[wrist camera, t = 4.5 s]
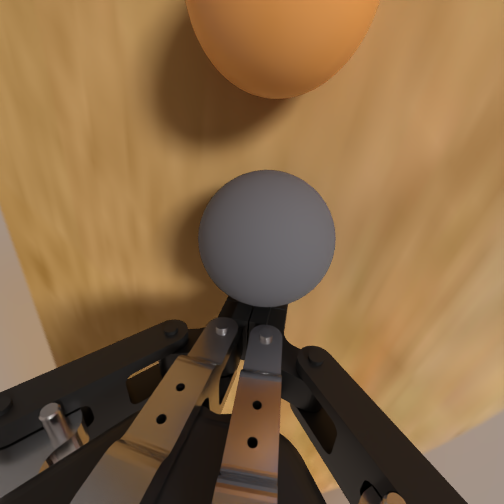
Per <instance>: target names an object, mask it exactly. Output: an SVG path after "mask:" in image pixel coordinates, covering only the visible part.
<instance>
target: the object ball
mask: <svg viewBox="0 0 504 504" xmlns="http://www.w3.org/2000/svg"><path fill="white" fill-rule="evenodd" d="M185 2H186V6H187V10H188V13H189V17H190V21H191V24H192V27H193V29H194V32H195V34H196V37H197V39H198V41H199V43H200V45H201V47H202V49H203V50H204V52H205V54H206V55H207V57H208V58H209V60H210V61H211V63H212V64H213V65H214V66H215V68H216V69H217V70H218V71H219V72H220V73H221V74H222V75H223V76H224V77H225V78H226V79H227V80H228V81H230V82H231V83H232V84H234V85H235V86H237V87H238V88H240V89H241V90H243V91H245V92H247V93H249V94H252V95H255V96H259V97H263V98H270V99H284V98H291V97H295V96H299V95H302V94H305V93H307V92H309V91H311V90H314V89H316V88H317V87H319V86H320V85H322V84H323V83H325V82H326V81H328V80H329V79H330V78H331V77H332V76H334V75H335V74H336V73H337V72H338V71H339V70H340V69H341V68H342V67H343V66H344V65H345V64H346V63H347V62H348V60H349V59H350V58H351V56H352V55H353V54H354V53H355V51H356V50H357V48H358V47H359V45H360V44H361V42H362V40H363V39H364V37H365V35H366V33H367V31H368V29H369V27H370V25H371V23H372V21H373V18H374V16H375V13H376V11H377V8H378V5H379V2H380V0H185Z"/></svg>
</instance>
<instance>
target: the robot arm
mask: <svg viewBox="0 0 504 504" xmlns="http://www.w3.org/2000/svg"><path fill="white" fill-rule="evenodd" d="M287 307H288V304H285V305H281V306H276V307H257V306H252V305H248V304H245V303H242V302H239V301H237V300H235V299H234V298H232V297H230V296H228V298H227V301H226V302H225V304H224V306H223V308H222V310H221V312H220V314H219V316H218V318H215V319H213V320H211V321H210V322H209V323H208V324H207V326H206V327H205V328H200V329H188V327H187V325H186V324H185V323H184V322H183V321H180V320H168V321H165V322H163V323H160V324H158V325H156V326H153V327H151V328H149V329H146V330H144V331H142V332H139V333H137V334H135V335H132V336H130V337H128V338H125V339H123V340H121V341H118V342H116V343H114V344H112V345H109V346H107V347H105V348H102V349H100V350H98V351H95V352H93V353H91V354H88V355H86V356H84V357H81V358H79V359H77V360H74V361H72V362H70V363H68V364H65V365H63V366H61V367H58V368H56V369H54V370H51V371H49V372H47V373H45V374H42V375H40V376H37V377H35V378H33V379H31V380H28V381H26V382H23V383H21V384H19V385H17V386H14V387H12V388H10V389H7V390H5V391H3V392H0V504H326V502H325V500H324V498H323V496H322V494H321V492H320V491H319V489H318V487H317V485H316V483H315V481H314V479H313V477H312V475H311V474H310V472H309V470H308V468H307V466H306V464H305V462H304V460H303V459H302V457H301V455H300V454H299V452H298V451H297V449H296V448H295V447H294V446H293V445H292V443H291V442H290V441H289V440H288V439H286V438H285V437H284V436H283V435H281V434H280V433H279V429H280V405H281V398H282V399H284V400H286V401H288V402H289V403H290V406H291V409H292V411H293V413H294V414H295V416H296V418H297V419H298V421H299V422H300V424H301V426H302V427H303V429H304V430H305V432H306V434H307V435H308V437H309V438H310V440H311V442H312V443H313V445H314V446H315V448H316V450H317V451H318V453H319V454H320V456H321V458H322V459H323V461H324V462H325V464H326V466H327V467H328V469H329V471H330V472H331V474H332V475H333V477H334V479H335V480H336V482H337V483H338V485H339V487H340V488H341V490H342V491H343V493H344V495H345V496H346V498H347V499H348V501H349V503H350V504H468V503H467V502H466V501H465V500H464V499H463V498H462V497H461V496H460V495H459V494H458V493H457V492H456V490H455V489H454V488H453V487H452V486H451V485H450V484H449V483H448V482H447V481H446V480H445V478H444V477H443V476H442V475H441V474H440V473H439V472H438V471H437V470H436V469H435V468H434V466H433V465H432V464H431V463H430V462H429V461H428V460H427V459H426V458H425V457H424V456H423V455H422V453H421V452H420V451H419V450H418V449H417V448H416V447H415V446H414V445H413V444H412V443H411V442H410V440H409V439H408V438H407V437H406V436H405V435H404V434H403V433H402V432H401V431H400V430H399V428H398V427H397V426H396V425H395V424H394V423H393V422H392V421H391V420H390V419H389V418H388V417H387V415H386V414H385V413H384V412H383V411H382V410H381V409H380V408H379V407H378V406H377V405H376V404H375V402H374V401H373V400H372V399H371V398H370V397H369V396H368V395H367V394H366V393H365V392H364V391H363V389H362V388H361V387H360V386H359V385H358V384H357V383H356V382H355V381H354V380H353V379H352V378H351V376H350V375H349V374H348V373H347V372H346V371H345V370H344V369H343V368H342V367H341V366H340V365H339V363H338V362H337V361H336V360H335V359H334V358H333V357H332V356H331V355H330V354H329V353H328V352H327V351H326V350H324V349H322V348H320V347H317V346H306V347H304V348H302V349H299V348H297V347H295V346H293V345H291V344H290V343H289V342H288V341H287V340H286V338H285V336H284V329H285V323H286V315H287ZM240 359H241V360H245V361H244V366H243V370H241V372H240V377H239V382H238V386H237V391H236V396H235V401H234V406H233V411H232V414H221V412H222V409H223V407H224V404H225V402H226V399H227V397H228V394H229V392H230V389H231V387H232V384H233V382H234V380H235V377H236V374H237V368H238V365H239V362H240ZM158 360H159V364H157V365H155V366H153V367H151V368H149V369H147V370H145V371H143V372H141V373H139V374H137V375H135V376H134V377H132V378H130V379H128V377H129V376H130V375H132V374H133V373H135V372H137V371H139V370H141V369H143V368H145V367H146V366H148V365H150V364H152V363H154V362H156V361H158Z"/></svg>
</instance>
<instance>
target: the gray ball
mask: <svg viewBox="0 0 504 504" xmlns="http://www.w3.org/2000/svg"><path fill="white" fill-rule="evenodd" d="M198 242H199V251H200V256H201V259H202V262H203V265H204V267H205V269H206V271H207V273H208V275H209V276H210V278H211V279H212V280H213V282H214V283H215V284H216V285H217V286H218V287H219V288H220V289H221V290H222V291H223V292H225V293H226V294H227V295H228V296H230V297H232V298H234V299H235V300H237V301H239V302H242V303H245V304H248V305H252V306H257V307H276V306H281V305H285V304H289V303H291V302H294V301H296V300H298V299H300V298H302V297H303V296H305V295H306V294H308V293H309V292H310V291H311V290H313V289H314V288H315V287H316V286H317V285H318V284H319V282H320V281H321V280H322V278H323V277H324V276H325V274H326V272H327V270H328V268H329V266H330V264H331V261H332V258H333V254H334V250H335V227H334V222H333V219H332V216H331V213H330V211H329V209H328V207H327V205H326V203H325V201H324V200H323V199H322V197H321V196H320V194H319V193H318V192H317V191H316V190H315V189H314V188H313V187H311V186H310V185H309V184H308V183H306V182H305V181H303V180H302V179H300V178H298V177H296V176H294V175H291V174H288V173H285V172H281V171H275V170H260V171H253V172H249V173H246V174H243V175H241V176H238V177H236V178H234V179H232V180H231V181H229V182H228V183H226V184H225V185H224V186H223V187H222V188H220V189H219V190H218V191H217V193H216V194H215V195H214V196H213V197H212V198H211V200H210V201H209V203H208V205H207V206H206V209H205V211H204V213H203V215H202V219H201V222H200V227H199V236H198Z"/></svg>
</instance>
